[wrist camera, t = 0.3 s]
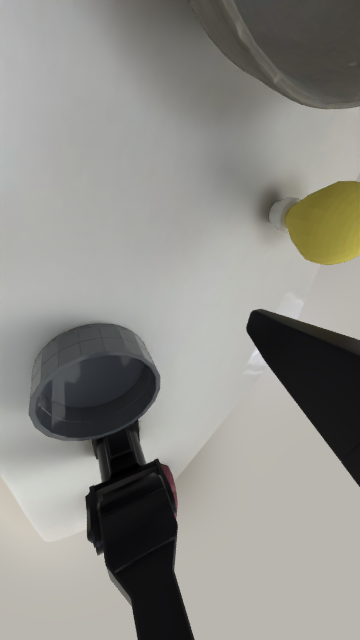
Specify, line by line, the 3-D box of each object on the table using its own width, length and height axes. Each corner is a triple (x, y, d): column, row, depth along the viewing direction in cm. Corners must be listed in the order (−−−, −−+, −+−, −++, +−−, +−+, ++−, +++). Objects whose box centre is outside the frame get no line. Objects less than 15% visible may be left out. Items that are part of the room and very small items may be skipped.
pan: (148, 389, 31) (159, 416, 28) (49, 419, 27) (48, 456, 24) (146, 314, 25) (161, 338, 22) (15, 337, 20) (8, 372, 17)
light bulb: (254, 183, 22) (356, 195, 15) (307, 170, 24) (423, 174, 16) (250, 250, 26) (329, 286, 19) (296, 235, 28) (385, 262, 21)
